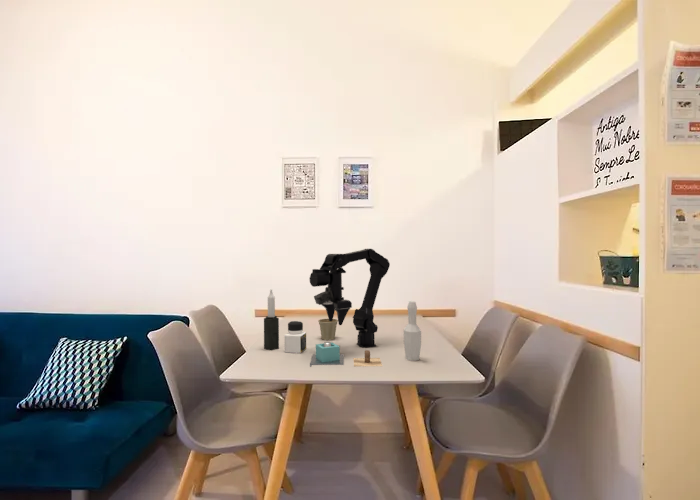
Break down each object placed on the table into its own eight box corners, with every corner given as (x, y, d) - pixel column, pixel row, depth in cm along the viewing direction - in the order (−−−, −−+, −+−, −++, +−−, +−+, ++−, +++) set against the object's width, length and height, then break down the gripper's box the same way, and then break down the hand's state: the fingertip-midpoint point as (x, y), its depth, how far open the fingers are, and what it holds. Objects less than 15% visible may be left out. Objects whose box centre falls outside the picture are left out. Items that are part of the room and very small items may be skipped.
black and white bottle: (273, 346, 165) (272, 288, 165) (280, 348, 161) (279, 289, 161) (262, 348, 161) (262, 289, 161) (269, 350, 158) (269, 290, 157)
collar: (315, 357, 144) (315, 344, 144) (332, 355, 147) (332, 342, 147) (322, 362, 138) (322, 348, 137) (339, 359, 140) (339, 346, 140)
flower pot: (337, 341, 173) (337, 322, 173) (317, 341, 173) (317, 322, 173) (338, 336, 182) (338, 318, 182) (319, 336, 183) (319, 318, 183)
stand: (353, 359, 144) (353, 347, 144) (379, 359, 144) (379, 347, 144) (354, 368, 134) (354, 354, 134) (382, 367, 134) (382, 354, 134)
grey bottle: (400, 359, 145) (400, 301, 144) (414, 357, 147) (414, 300, 147) (409, 363, 139) (409, 303, 139) (424, 361, 141) (424, 302, 141)
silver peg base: (312, 357, 148) (312, 339, 148) (343, 356, 148) (343, 338, 148) (309, 366, 136) (309, 346, 136) (343, 366, 136) (343, 346, 136)
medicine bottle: (300, 353, 153) (300, 323, 153) (284, 352, 155) (284, 322, 155) (306, 348, 160) (306, 320, 160) (290, 348, 162) (290, 319, 162)
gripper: (307, 284, 159) (308, 321, 159) (325, 288, 143) (326, 329, 143) (332, 282, 164) (332, 318, 164) (352, 286, 148) (352, 326, 148)
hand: (335, 323), depth 155 cm, fingers open, 9 cm apart
